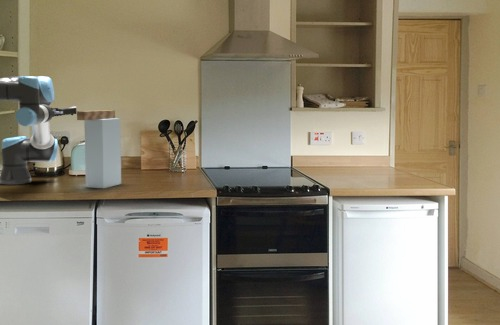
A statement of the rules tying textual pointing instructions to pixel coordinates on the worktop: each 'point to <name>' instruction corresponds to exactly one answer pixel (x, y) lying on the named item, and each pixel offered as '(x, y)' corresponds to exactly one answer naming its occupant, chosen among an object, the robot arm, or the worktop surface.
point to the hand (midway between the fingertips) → (60, 109)
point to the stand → (102, 153)
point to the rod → (95, 115)
